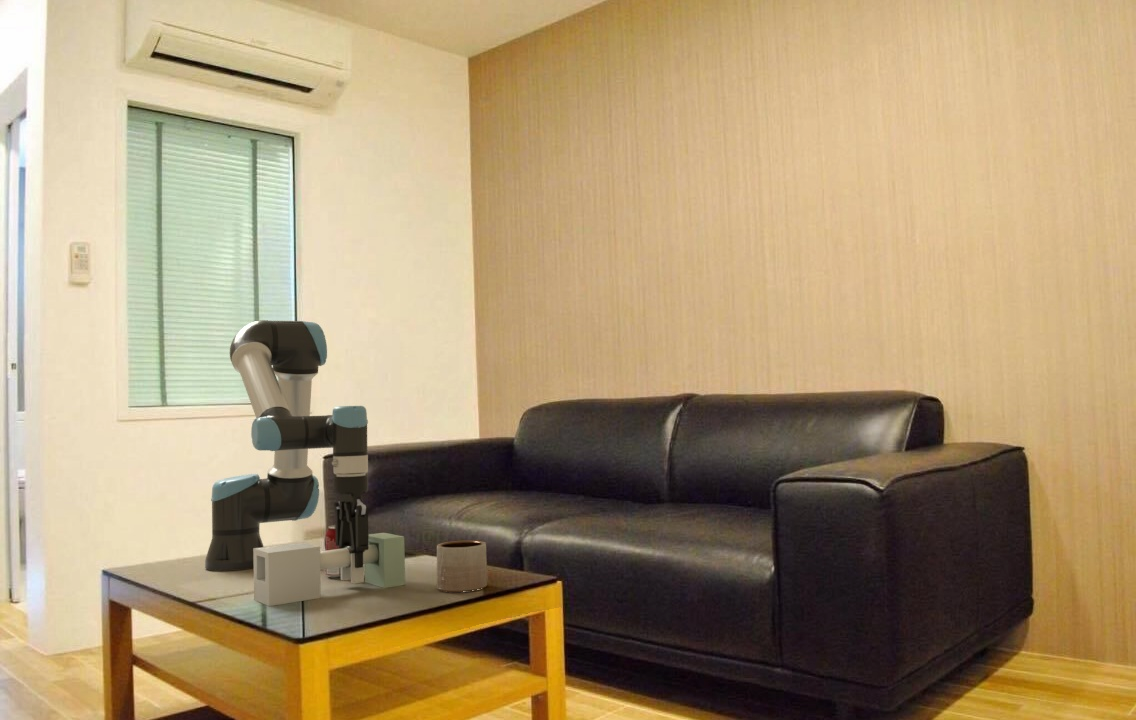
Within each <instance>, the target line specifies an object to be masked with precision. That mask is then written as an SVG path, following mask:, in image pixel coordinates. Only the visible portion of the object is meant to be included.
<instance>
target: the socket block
mask: <svg viewBox="0 0 1136 720" xmlns="http://www.w3.org/2000/svg"><path fill="white" fill-rule="evenodd" d="M368 543H369V545H376V546H377V548H378V553H379V557H378V561H377V562H375V563H368V564H364V583H366V584H370V585H373V586H376V587H379V588H380V587H381V588H383V589H388V588H393V587H401V586H404V585H406V568H405V567H406V565H405V559H406V558H405V554H406V553H405V536H403V535H398V534H392V533H387V532H380V533H379V532H378V533H377V532H376V533H368Z"/></svg>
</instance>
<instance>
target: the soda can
mask: <svg viewBox="0 0 1136 720" xmlns="http://www.w3.org/2000/svg"><path fill="white" fill-rule="evenodd" d="M327 528H328V529H327V531H326V532H325V551H327V550H335V549H339V546H336V538H335V524H334V525H333V524H332V525H329V526H328V527H327ZM351 545H352V543H351ZM325 575H326V577H328V578H330V579H334V580H335V579H339V580H341V567H340V568H333V569H326V570H325Z"/></svg>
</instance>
